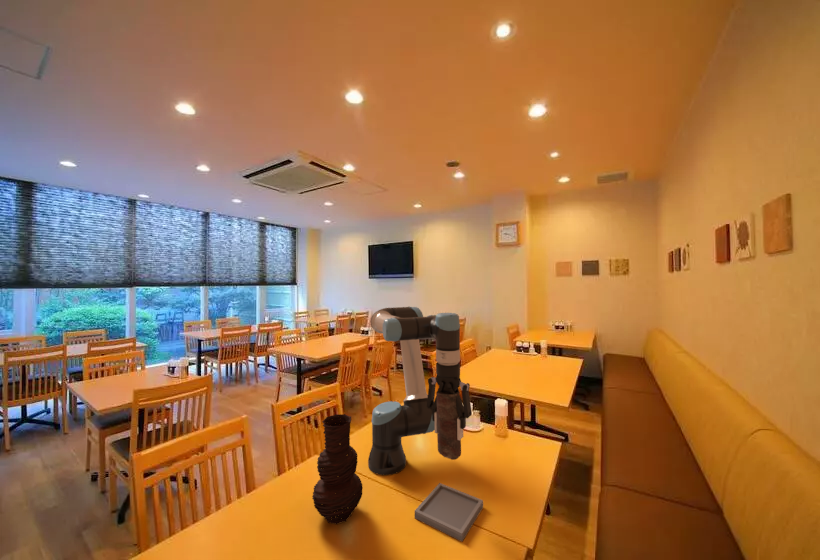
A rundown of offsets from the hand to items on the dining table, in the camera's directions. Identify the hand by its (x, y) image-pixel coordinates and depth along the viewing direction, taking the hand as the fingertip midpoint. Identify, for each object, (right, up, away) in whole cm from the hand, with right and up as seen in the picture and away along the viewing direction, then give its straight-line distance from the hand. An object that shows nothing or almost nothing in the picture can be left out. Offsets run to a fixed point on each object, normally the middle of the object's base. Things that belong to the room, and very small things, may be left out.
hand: (448, 434), depth 100 cm
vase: (-35, -25, 0) cm, 43 cm away
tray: (0, -25, 0) cm, 25 cm away
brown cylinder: (0, -6, 0) cm, 6 cm away
